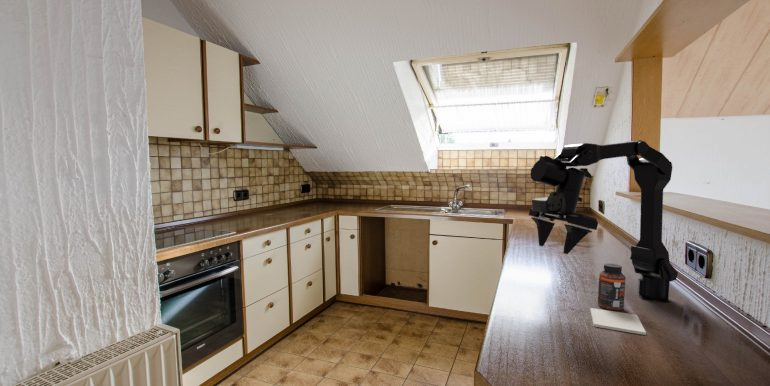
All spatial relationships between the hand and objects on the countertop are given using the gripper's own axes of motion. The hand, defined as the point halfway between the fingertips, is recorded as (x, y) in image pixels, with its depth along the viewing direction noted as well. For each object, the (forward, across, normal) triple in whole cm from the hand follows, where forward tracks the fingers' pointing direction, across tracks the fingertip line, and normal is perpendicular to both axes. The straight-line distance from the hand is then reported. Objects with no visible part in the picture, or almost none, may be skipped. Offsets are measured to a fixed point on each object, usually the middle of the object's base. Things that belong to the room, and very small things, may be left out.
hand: (552, 249), depth 95 cm
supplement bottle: (+11, +3, +20) cm, 23 cm away
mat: (+13, +11, +13) cm, 21 cm away
